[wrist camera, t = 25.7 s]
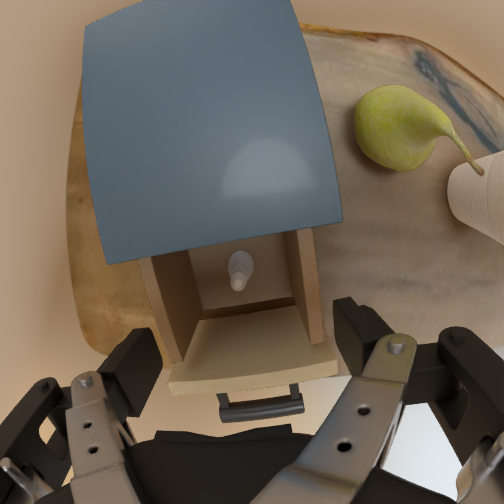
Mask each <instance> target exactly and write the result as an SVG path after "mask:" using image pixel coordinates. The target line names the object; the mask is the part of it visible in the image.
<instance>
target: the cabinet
mask: <svg viewBox="0 0 504 504" xmlns="http://www.w3.org/2000/svg"><path fill="white" fill-rule="evenodd" d="M82 63H83V65H82V111H83V129H84V141H85V151H86V160H87V168H88V176H89V182H90V189H91V195H92V200H93V206H94V211H95V216H96V221H97V226H98V230H99V235H100V239H101V243H102V247H103V251H104V255H105V259H106V263H107V265H111V264H116V263H121V262H126V261H131V260H136V259H141V258H146V257H152V256H157V255H162V254H167V253H172V252H178V251H183V250H188V249H194V248H199V247H204V246H210V245H215V244H221V243H226V242H232V241H237V240H243V239H248V238H254V237H260V236H265V235H271V234H277V233H282V232H288V231H294V230H300V229H306V228H312V227H317V226H323V225H329V224H335V223H341V222H343V214H342V207H341V200H340V193H339V187H338V180H337V174H336V169H335V163H334V157H333V152H332V147H331V142H330V137H329V132H328V128H327V123H326V119H325V114H324V110H323V106H322V102H321V98H320V94H319V90H318V86H317V82H316V78H315V75H314V71H313V68H312V64H311V61H310V57H309V54H308V51H307V48H306V44H305V41H304V38H303V35H302V32H301V29H300V26H299V23H298V21H297V18H296V15H295V12H294V10H293V7H292V4H291V2H290V0H145V1H142V2H139V3H136V4H134V5H131V6H129V7H126V8H124V9H121V10H119V11H117V12H114V13H112V14H110V15H108V16H105V17H103V18H101V19H99V20H97V21H95V22H93V23H91V24H89V25H87V26H86V27H85V34H84V46H83V62H82Z"/></svg>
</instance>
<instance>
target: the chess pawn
mask: <svg viewBox="0 0 504 504" xmlns="http://www.w3.org/2000/svg"><path fill="white" fill-rule="evenodd" d="M253 270H254V262H253V259H252V256H251V255H250V254H249V253H248V252H246V251H243V250H242V251H237V252H235V253H234V254H233V255H232V256H231V258H230V259H229V263H228V273H229V275H230V278H231V280H230V281H231V286H232V288H233V289H234V290H235V291H241V290H243V289H244V288H245V286H246V283H247V280H249V278H250V277H251V275H252V273H253Z"/></svg>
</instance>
